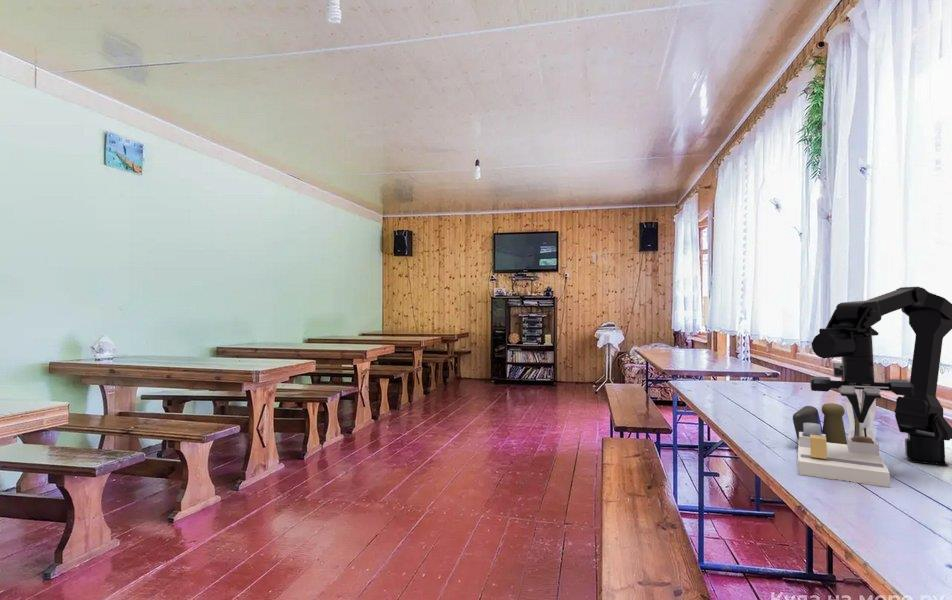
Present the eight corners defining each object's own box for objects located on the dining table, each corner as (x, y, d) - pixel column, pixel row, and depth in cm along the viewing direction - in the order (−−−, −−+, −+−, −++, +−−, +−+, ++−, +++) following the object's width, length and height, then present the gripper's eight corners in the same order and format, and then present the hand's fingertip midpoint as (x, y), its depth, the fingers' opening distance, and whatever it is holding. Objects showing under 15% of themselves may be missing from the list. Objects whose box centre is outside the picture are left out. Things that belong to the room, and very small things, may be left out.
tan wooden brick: (826, 454, 114) (825, 435, 114) (826, 458, 111) (826, 439, 111) (810, 453, 115) (809, 434, 115) (810, 456, 112) (810, 437, 112)
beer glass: (879, 443, 135) (877, 388, 136) (847, 439, 139) (846, 387, 139) (875, 437, 141) (873, 385, 142) (845, 434, 145) (843, 383, 145)
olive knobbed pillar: (840, 447, 132) (839, 406, 132) (816, 442, 137) (815, 403, 137) (852, 444, 134) (850, 404, 135) (828, 439, 140) (827, 401, 140)
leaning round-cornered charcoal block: (819, 450, 127) (810, 413, 128) (798, 449, 130) (790, 414, 132) (830, 437, 139) (821, 404, 140) (811, 438, 142) (803, 405, 143)
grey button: (820, 435, 124) (820, 423, 124) (821, 438, 121) (820, 426, 121) (803, 433, 126) (803, 422, 126) (803, 436, 123) (803, 424, 123)
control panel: (876, 460, 120) (875, 437, 121) (890, 487, 102) (889, 461, 102) (798, 450, 129) (798, 429, 129) (798, 474, 111) (797, 450, 111)
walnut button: (871, 449, 118) (870, 437, 119) (873, 453, 115) (872, 440, 116) (852, 447, 120) (852, 435, 121) (854, 451, 117) (853, 438, 118)
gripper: (902, 352, 116) (906, 418, 116) (808, 351, 126) (811, 412, 126) (912, 357, 106) (917, 429, 106) (809, 356, 117) (813, 421, 116)
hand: (861, 422), depth 114 cm, fingers closed
